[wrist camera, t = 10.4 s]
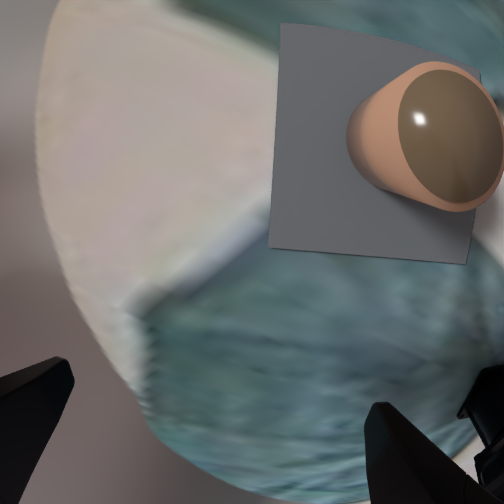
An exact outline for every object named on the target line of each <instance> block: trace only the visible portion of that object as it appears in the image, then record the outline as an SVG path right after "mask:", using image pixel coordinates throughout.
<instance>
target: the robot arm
mask: <svg viewBox="0 0 504 504" xmlns="http://www.w3.org/2000/svg"><path fill="white" fill-rule="evenodd" d="M74 382H75V380H74V376H73V373H72V370H71V368H70V364H69V362H68V361H67V360H66V359H64V358H61V357H58V356H56V357H53V358H50V359H47V360H45V361H42V362H40V363H37V364H35V365H32V366H29V367H27V368H24V369H21V370H19V371H16V372H13V373H11V374H8V375H5V376H3V377H0V504H19V501H20V499H21V497H22V495H23V492H24V490H25V488H26V486H27V483H28V481H29V479H30V477H31V475H32V473H33V471H34V469H35V467H36V465H37V463H38V460H39V459H40V457H41V454H42V453H43V451H44V449H45V447H46V445H47V443H48V441H49V439H50V437H51V435H52V433H53V431H54V429H55V428H56V426H57V424H58V422H59V420H60V417H61V415H62V413H63V410H64V408H65V405H66V403H67V401H68V398H69V396H70V394H71V391H72V389H73V387H74ZM468 417H469V418H470V419H471V421H472V423H473V425H474V427H475V429H476V431H477V432H478V434H479V436H480V438H481V440H482V442H483V444H484V446H485V449H484V450H483V451H482V452H480V453H478V454H477V455H476V456H475V457H474V461H475V468H476V472H477V477H478V482H479V484H478V483H477V482H476V481H475V480H474V479H473V478H472V477H470V476H469V475H468V474H467V475H466V472H465V471H464V470H462V469H461V468H460V467H459V466H458V465H457V464H456V463H455V462H454V461H452V460H451V459H450V458H449V457H448V456H447V455H446V454H445V453H444V452H442V451H441V450H440V449H439V448H438V447H437V446H436V445H435V444H434V443H433V442H431V441H430V440H429V439H428V438H427V437H426V436H425V435H424V434H423V433H422V432H421V431H419V430H418V429H417V428H416V427H415V426H414V425H413V424H412V423H411V422H410V421H409V420H408V419H406V418H405V417H404V416H403V415H402V414H401V413H400V412H399V411H398V410H397V409H396V408H395V407H393V406H392V405H391V404H390V403H389V402H376V403H374V404H373V405H372V407H371V409H370V412H369V414H368V416H367V419H366V421H365V425H364V434H365V453H366V474H367V481H368V488H369V494H370V501H371V504H504V365H502V366H496V367H490V368H485V369H483V370H482V371H481V373H480V375H479V377H478V379H477V381H476V382H475V384H474V386H473V388H472V390H471V392H470V394H469V395H468V397H467V399H466V401H465V402H464V404H463V406H462V407H461V409H460V411H459V412H458V414H457V418H458V419H464V418H468Z"/></svg>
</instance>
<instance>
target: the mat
mask: <svg viewBox="0 0 504 504" xmlns="http://www.w3.org/2000/svg"><path fill="white" fill-rule="evenodd" d="M432 61H439V62H445V63H449V64H452V65H455V66H457V67H459V68H461V69H463V70H465V71H466V72H468V73H469V74H470V75H472V76H473V77H474V78H475V79H476V80H477V81H478V82H479V83H480V84H481V82H480V71H479V70H478V69H476V68H473V67H471V66H469V65H466V64H464V63H461V62H459V61H456V60H454V59H451V58H449V57H446V56H443V55H440V54H438V53H435V52H432V51H429V50H426V49H423V48H420V47H416V46H413V45H410V44H406V43H403V42H399V41H395V40H391V39H387V38H383V37H379V36H374V35H370V34H365V33H360V32H355V31H349V30H343V29H337V28H330V27H322V26H314V25H304V24H292V23H281V27H280V50H279V72H278V92H277V110H276V128H275V146H274V162H273V178H272V194H271V209H270V223H269V237H268V248H280V249H292V250H304V251H316V252H329V253H341V254H353V255H364V256H376V257H388V258H400V259H411V260H422V261H434V262H445V263H456V264H465V263H466V259H467V255H468V250H469V245H470V241H471V235H472V230H473V224H474V218H475V212H476V208H473V209H471V210H467V211H462V212H452V211H446V210H442V209H439V208H437V207H434V206H431V205H428V204H425V203H422V202H419V201H416V200H414V199H411V198H407V197H404V196H401V195H398V194H395V193H392V192H389V191H385V190H383V189H380V188H377V187H376V186H374V185H372V184H371V183H369V182H368V181H367V180H365V179H364V178H363V177H362V176H361V174H360V173H359V172H358V171H357V169H356V168H355V166H354V165H353V163H352V161H351V158H350V156H349V153H348V149H347V142H346V132H347V126H348V122H349V119H350V117H351V115H352V113H353V111H354V110H355V109H356V107H357V106H358V105H359V104H360V103H361V102H363V101H364V100H365V99H367V98H368V97H370V96H371V95H373V94H374V93H375V92H377V91H378V90H380V89H381V88H383V87H384V86H386V85H387V84H389V83H390V82H391V81H393V80H394V79H396V78H397V77H399V76H400V75H402V74H403V73H405V72H406V71H408V70H409V69H411V68H413V67H414V66H416V65H419V64H421V63H425V62H432Z"/></svg>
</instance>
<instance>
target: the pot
mask: <svg viewBox="0 0 504 504" xmlns="http://www.w3.org/2000/svg"><path fill="white" fill-rule="evenodd" d="M346 142H347V149H348V153H349V156H350V158H351V161H352V163H353V165H354V166H355V168H356V169H357V171H358V172H359V173H360V174H361V176H362V177H363V178H364V179H365V180H367V181H368V182H369V183H371V184H372V185H374V186H376V187H377V188H380V189H383V190H385V191H389V192H392V193H395V194H398V195H401V196H404V197H407V198H411V199H414V200H416V201H419V202H422V203H425V204H428V205H431V206H434V207H437V208H439V209H442V210H446V211H452V212H462V211H467V210H471V209H473V208H476V207H478V206H479V205H481V204H482V203H484V202H485V201H486V200H487V199H488V198H489V197H490V196H491V195H492V193H493V192H494V191H495V189H496V188H497V186H498V184H499V182H500V180H501V177H502V174H503V171H504V126H503V123H502V119H501V116H500V114H499V111H498V109H497V107H496V105H495V103H494V101H493V99H492V98H491V96H490V95H489V93H488V92H487V91H486V89H485V88H484V87H483V86H482V85H481V84H480V83H479V82H478V81H477V80H476V79H475V78H474V77H473V76H472V75H470V74H469V73H468V72H466V71H465V70H463V69H461V68H459V67H457V66H455V65H452V64H449V63H445V62H439V61H432V62H425V63H421V64H419V65H416V66H414V67H413V68H411V69H409V70H408V71H406V72H405V73H403V74H402V75H400V76H399V77H397V78H396V79H394V80H393V81H391V82H390V83H389V84H387V85H386V86H384V87H383V88H381V89H380V90H378V91H377V92H375V93H374V94H373V95H371V96H370V97H368V98H367V99H365V100H364V101H363V102H361V103H360V104H359V105H358V106H357V107H356V109H355V110H354V111H353V113H352V115H351V117H350V119H349V122H348V126H347V132H346Z"/></svg>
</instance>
